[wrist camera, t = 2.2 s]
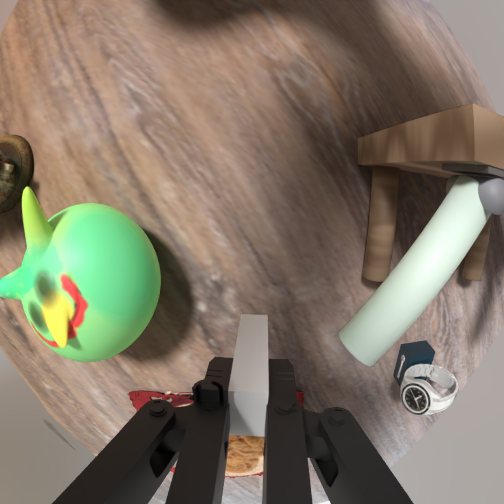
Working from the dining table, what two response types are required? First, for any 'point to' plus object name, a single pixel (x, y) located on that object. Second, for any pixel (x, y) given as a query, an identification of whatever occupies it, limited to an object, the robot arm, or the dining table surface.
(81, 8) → the dining table surface
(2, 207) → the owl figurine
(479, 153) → the stool
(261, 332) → the robot arm
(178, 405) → the plate with food
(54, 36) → the dining table surface
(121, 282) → the toy bird
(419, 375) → the watch
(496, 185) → the hinged leg
